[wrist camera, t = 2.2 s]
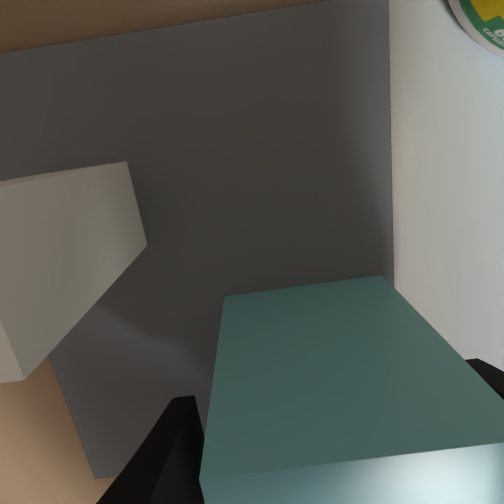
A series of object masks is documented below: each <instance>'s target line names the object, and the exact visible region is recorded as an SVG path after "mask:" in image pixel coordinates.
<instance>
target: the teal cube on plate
mask: <svg viewBox="0 0 504 504" xmlns="http://www.w3.org/2000/svg"><path fill="white" fill-rule="evenodd" d="M199 481H200V485H201V489H202V493H203V497H204V501H205V504H504V400H503V399H502V398H501V397H500V396H499V395H498V394H497V393H496V392H495V391H494V390H493V389H492V388H491V387H490V386H489V385H488V384H487V383H486V382H485V381H484V380H483V379H482V377H481V376H480V375H479V374H478V373H477V372H476V371H475V370H474V369H473V368H472V367H471V366H470V365H469V364H468V363H467V362H466V361H465V360H464V359H463V358H462V357H461V356H460V355H459V354H458V353H457V352H456V351H455V350H454V349H453V348H452V347H451V346H450V345H449V344H448V343H447V342H446V341H445V339H444V338H443V337H442V336H441V335H440V334H439V333H438V332H437V331H436V330H435V329H434V328H433V327H432V326H431V325H430V324H429V323H428V322H427V321H426V320H425V319H424V318H423V317H422V316H421V315H420V314H419V313H418V312H417V311H416V310H415V309H414V308H413V307H412V306H411V305H410V304H409V303H408V302H407V300H406V299H405V298H404V297H403V296H402V295H401V294H400V293H399V292H398V291H397V290H396V289H395V288H394V287H393V286H392V285H391V284H390V283H389V282H388V281H387V280H386V279H385V278H384V277H383V276H382V275H377V276H370V277H363V278H355V279H348V280H341V281H333V282H326V283H319V284H312V285H304V286H297V287H290V288H282V289H275V290H268V291H261V292H253V293H246V294H239V295H232V296H224V303H223V310H222V318H221V325H220V332H219V339H218V346H217V354H216V361H215V368H214V375H213V383H212V390H211V397H210V404H209V411H208V419H207V426H206V433H205V440H204V448H203V455H202V462H201V469H200V476H199Z"/></svg>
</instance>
